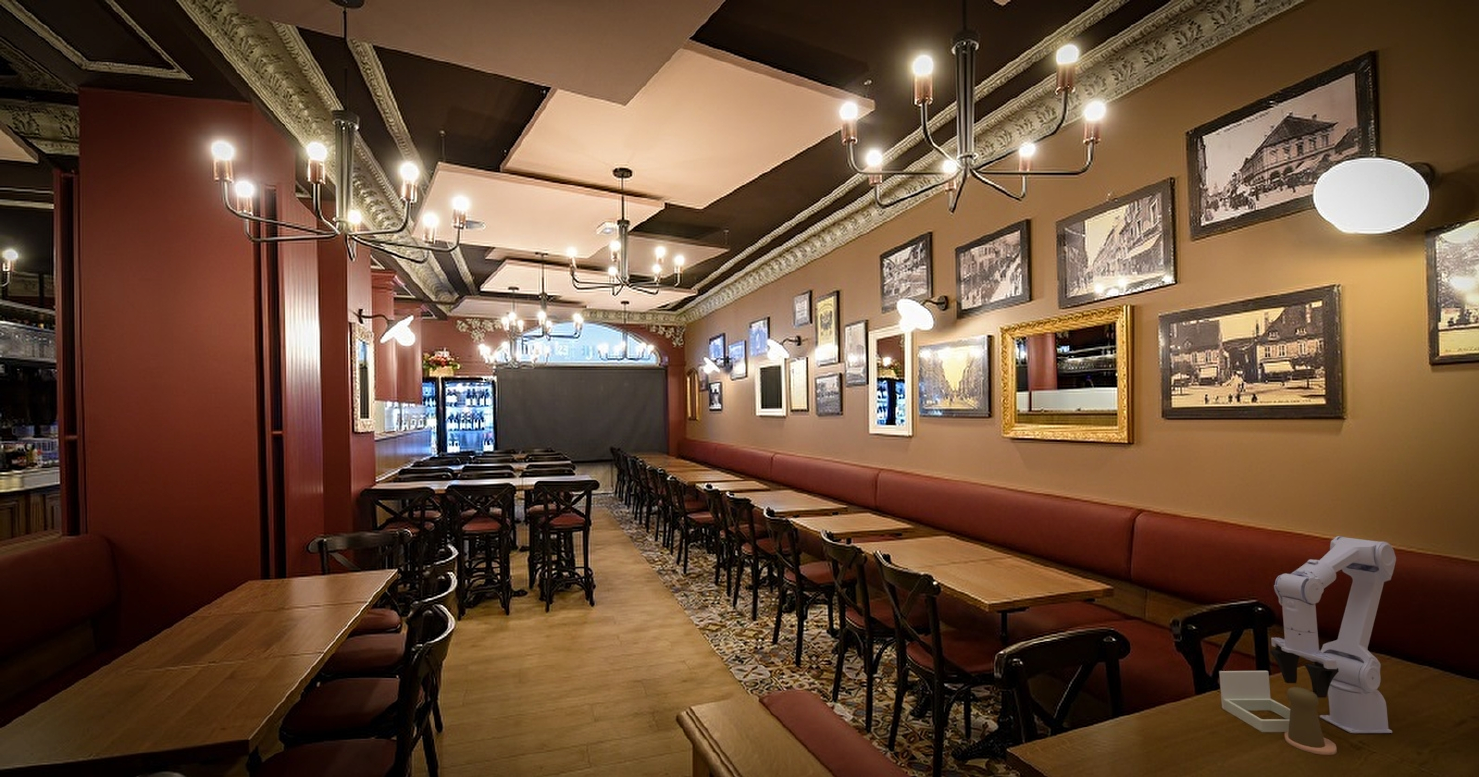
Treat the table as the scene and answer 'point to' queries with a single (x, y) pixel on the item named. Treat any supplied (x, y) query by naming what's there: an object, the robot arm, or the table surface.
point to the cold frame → (1252, 699)
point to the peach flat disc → (1327, 750)
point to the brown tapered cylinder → (1304, 718)
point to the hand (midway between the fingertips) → (1305, 689)
